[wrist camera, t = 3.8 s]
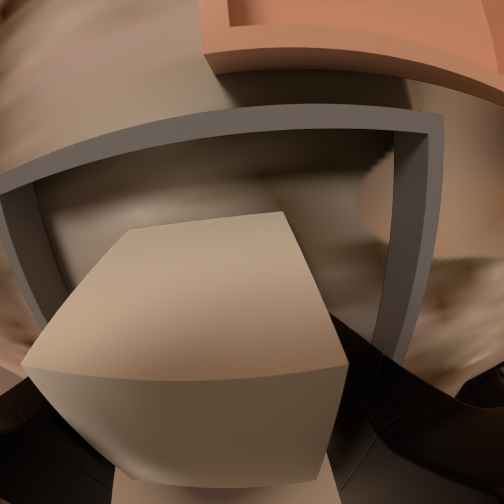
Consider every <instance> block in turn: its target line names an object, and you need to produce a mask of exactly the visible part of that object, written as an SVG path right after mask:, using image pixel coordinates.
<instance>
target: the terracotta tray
mask: <svg viewBox="0 0 504 504" xmlns="http://www.w3.org/2000/svg"><path fill="white" fill-rule="evenodd" d="M199 6H200V19H201V30H202V42H203V52H204V56H205V58H206V60H207V61H208V63H209V65H210V67H211V69H212V71H213V73H214V75H217V74H225V73H234V72H244V71H257V70H275V69H325V70H343V71H355V72H365V73H374V74H381V75H388V76H395V77H401V78H406V79H411V80H417V81H422V82H426V83H430V84H435V85H439V86H443V87H447V88H450V89H454V90H457V91H460V92H464V93H467V94H470V95H473V96H476V97H479V98H482V99H485V100H488V101H491V102H493V103H496V104H498V105H501V106H504V0H199Z"/></svg>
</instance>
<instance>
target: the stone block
mask: <svg viewBox="0 0 504 504" xmlns="http://www.w3.org/2000/svg"><path fill="white" fill-rule="evenodd" d="M20 365H21V366H22V368H23V369H24V371H25V372H26V373H27V375H28V376H29V377H30V379H31V380H32V381H33V383H34V384H35V385H36V386H37V388H38V389H39V390H40V392H41V393H42V394H43V395H44V396H45V398H46V399H47V400H48V401H49V402H50V403H51V405H52V406H53V407H54V408H55V409H56V410H57V411H58V413H59V414H60V415H61V416H62V417H63V418H64V419H65V420H66V421H67V422H68V423H69V424H70V425H71V426H72V427H73V428H74V429H75V430H76V431H77V432H78V433H79V434H80V435H81V436H82V437H83V438H84V439H85V440H86V441H87V442H88V443H89V444H90V445H91V446H93V447H94V448H95V449H96V450H97V451H98V452H99V453H100V454H102V455H103V456H104V457H105V458H106V459H108V460H109V461H110V462H111V463H112V464H114V465H115V466H116V467H117V468H119V469H120V470H121V471H123V472H124V473H125V474H127V475H128V476H129V477H131V478H132V479H135V480H141V481H147V482H153V483H160V484H169V485H179V486H191V487H208V488H244V487H262V486H273V485H283V484H292V483H299V482H305V481H312V480H316V478H317V475H318V473H319V470H320V467H321V464H322V462H323V458H324V455H325V453H326V449H327V446H328V443H329V440H330V437H331V433H332V430H333V426H334V423H335V419H336V416H337V412H338V408H339V404H340V400H341V396H342V392H343V388H344V384H345V380H346V375H347V370H348V366H349V363H348V360H347V358H346V355H345V353H344V350H343V348H342V345H341V343H340V340H339V338H338V335H337V333H336V330H335V328H334V326H333V323H332V321H331V318H330V316H329V314H328V311H327V309H326V306H325V304H324V302H323V299H322V297H321V295H320V292H319V290H318V288H317V286H316V283H315V281H314V279H313V276H312V274H311V272H310V270H309V267H308V265H307V263H306V261H305V258H304V256H303V254H302V252H301V250H300V247H299V245H298V243H297V241H296V239H295V237H294V234H293V232H292V230H291V228H290V226H289V224H288V222H287V220H286V217H285V215H284V213H283V211H282V212H272V213H262V214H252V215H242V216H233V217H224V218H215V219H207V220H199V221H191V222H183V223H175V224H168V225H160V226H153V227H146V228H139V229H132V230H127V231H126V232H125V233H124V235H123V236H122V237H121V238H120V239H119V240H118V241H117V242H116V243H115V244H114V245H113V246H112V247H111V248H110V249H109V251H108V252H107V253H106V254H105V255H104V256H103V257H102V258H101V259H100V260H99V262H98V263H97V264H96V265H95V266H94V267H93V268H92V270H91V271H90V272H89V273H88V274H87V275H86V277H85V278H84V279H83V280H82V281H81V282H80V284H79V285H78V286H77V287H76V288H75V290H74V291H73V292H72V293H71V295H70V296H69V297H68V298H67V300H66V301H65V302H64V303H63V305H62V306H61V307H60V308H59V310H58V311H57V312H56V314H55V315H54V316H53V318H52V319H51V320H50V322H49V323H48V324H47V326H46V327H45V328H44V330H43V331H42V333H41V334H40V335H39V337H38V338H37V340H36V341H35V343H34V344H33V345H32V347H31V348H30V350H29V351H28V353H27V354H26V356H25V357H24V359H23V360H22V362H21V364H20Z"/></svg>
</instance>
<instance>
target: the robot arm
mask: <svg viewBox="0 0 504 504" xmlns="http://www.w3.org/2000/svg"><path fill="white" fill-rule="evenodd" d="M328 314H329V316H330V318H331V321H332V323H333V326H334V328H335V330H336V333H337V335H338V338H339V340H340V343H341V345H342V348H343V350H344V353H345V355H346V358H347V360H348V363H349V366H348V370H347V375H346V380H345V384H344V388H343V392H342V396H341V400H340V404H339V408H338V412H337V416H336V419H335V423H334V426H333V430H332V433H331V437H330V440H329V443H328V446H327V449H326V452H327V455H328V459H329V462H330V465H331V469H332V472H333V476H334V479H335V482H336V486H337V489H338V492H339V497H340V500H341V503H342V504H504V363H502V364H500V365H498V366H497V367H495V368H493V369H491V370H490V371H488V372H486V373H484V374H482V375H480V376H478V377H477V378H475V379H473V380H471V381H469V382H468V383H466V384H465V386H464V387H463V389H462V390H461V392H460V393H459V395H458V396H457V398H456V399H455V398H453V397H451V396H450V395H448V394H446V393H444V392H443V391H441V390H439V389H437V388H436V387H434V386H432V385H430V384H429V383H427V382H425V381H424V380H422V379H420V378H419V377H417V376H416V375H414V374H412V373H411V372H409V371H408V370H406V369H405V368H403V367H402V366H400V365H399V364H398V363H396V362H395V361H393V360H392V359H391V358H389V357H388V356H387V355H383V352H381V351H380V350H379V349H377V348H376V347H375V346H373V345H372V344H371V343H369V342H368V341H367V340H365V339H364V338H363V337H361V336H360V335H359V334H357V333H356V332H355V331H353V330H352V329H351V328H349V327H348V326H347V325H345V324H344V323H343V322H341V321H340V320H339V319H337V318H336V317H335V316H333V315H332V314H331V313H329V312H328ZM114 473H115V465H114V464H112V463H111V462H110V461H109V460H108V459H106V458H105V457H104V456H103V455H102V454H100V453H99V452H98V451H97V450H96V449H95V448H94V447H93V446H91V445H90V444H89V443H88V442H87V441H86V440H85V439H84V438H83V437H82V436H81V435H80V434H79V433H78V432H77V431H76V430H75V429H74V428H73V427H72V426H71V425H70V424H69V423H68V422H67V421H66V420H65V419H64V418H63V417H62V416H61V415H60V414H59V413H58V411H57V410H56V409H55V408H54V407H53V406H52V405H51V403H50V402H49V401H48V400H47V399H46V398H45V396H44V395H43V394H42V393H41V392H40V390H39V389H38V388H37V386H36V385H35V384H34V383H33V381H32V380H31V379H30V377H29V376H28V377H27V378H25V379H24V380H23V381H22V382H20V383H19V384H17V385H15V386H14V387H13V388H11V389H10V390H8V391H7V392H5V393H4V394H2V395H1V396H0V504H111V499H112V488H113V480H114Z"/></svg>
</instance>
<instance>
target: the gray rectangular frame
mask: <svg viewBox="0 0 504 504" xmlns="http://www.w3.org/2000/svg"><path fill="white" fill-rule="evenodd" d="M318 128H351V129H379V130H394V187H393V206H392V207H393V208H392V220H391V231H390V241H389V250H388V258H387V265H386V272H385V279H384V285H383V291H382V297H381V302H380V308H379V313H378V318H377V322H376V327H375V332H374V336H373V340H372V345H373V346H375V347H376V348H377V349H379V350H380V351H381V352H383V355H387V356H388V357H389V358H391V359H392V360H393V361H395V362H396V363H398V364H399V365H400V366H401V365H402V362H403V360H404V357H405V354H406V351H407V349H408V346H409V343H410V340H411V337H412V334H413V331H414V328H415V324H416V321H417V318H418V314H419V311H420V307H421V304H422V300H423V296H424V292H425V288H426V284H427V280H428V276H429V271H430V266H431V262H432V256H433V251H434V245H435V239H436V233H437V227H438V219H439V211H440V201H441V191H442V177H443V152H444V151H443V149H444V138H443V137H444V136H443V135H444V132H443V115H439V114H433V113H427V112H421V111H414V110H407V109H399V108H390V107H379V106H366V105H348V104H286V105H267V106H254V107H243V108H234V109H225V110H217V111H210V112H203V113H197V114H191V115H185V116H180V117H174V118H169V119H164V120H159V121H155V122H150V123H146V124H142V125H138V126H134V127H130V128H126V129H122V130H119V131H115V132H111V133H108V134H105V135H101V136H98V137H95V138H92V139H89V140H85V141H82V142H80V143H77V144H74V145H71V146H68V147H65V148H63V149H60V150H57V151H55V152H52V153H50V154H47V155H45V156H42V157H40V158H37V159H35V160H33V161H31V162H28V163H26V164H24V165H22V166H19V167H17V168H15V169H13V170H11V171H9V172H7V173H5V174H3V175H1V176H0V236H1V239H2V242H3V245H4V248H5V250H6V253H7V256H8V259H9V261H10V264H11V267H12V269H13V272H14V274H15V276H16V279H17V281H18V283H19V286H20V288H21V290H22V292H23V295H24V297H25V299H26V301H27V303H28V305H29V307H30V309H31V311H32V313H33V315H34V317H35V319H36V321H37V323H38V325H39V326H40V328H41V330H42V331H43V330H44V328H45V327H46V326H47V324H48V323H49V322H50V320H51V319H52V318H53V316H54V315H55V314H56V312H57V311H58V310H59V308H60V307H61V306H62V305H63V303H64V302H65V301H66V300H67V298H68V297H69V294H68V291H67V289H66V287H65V284H64V282H63V279H62V277H61V274H60V272H59V269H58V266H57V264H56V261H55V258H54V255H53V253H52V250H51V247H50V244H49V241H48V238H47V234H46V231H45V228H44V224H43V221H42V217H41V214H40V210H39V206H38V202H37V198H36V194H35V190H34V185H33V181H35V180H38V179H41V178H44V177H46V176H49V175H52V174H55V173H58V172H61V171H64V170H67V169H70V168H73V167H76V166H80V165H83V164H86V163H90V162H93V161H97V160H100V159H104V158H108V157H112V156H116V155H120V154H124V153H128V152H132V151H136V150H141V149H145V148H150V147H155V146H160V145H165V144H170V143H176V142H182V141H187V140H194V139H200V138H207V137H214V136H222V135H230V134H239V133H249V132H260V131H273V130H289V129H318Z"/></svg>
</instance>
